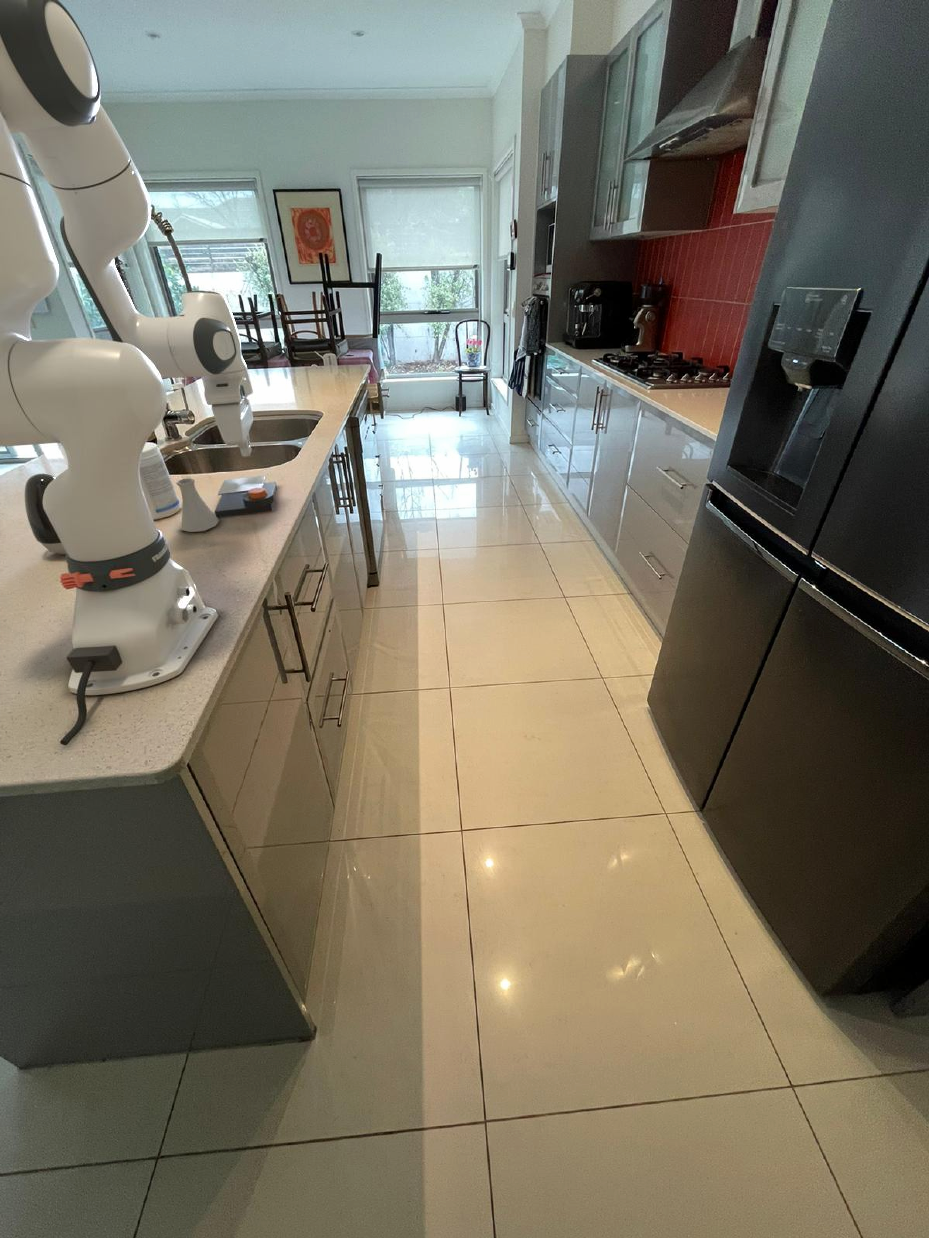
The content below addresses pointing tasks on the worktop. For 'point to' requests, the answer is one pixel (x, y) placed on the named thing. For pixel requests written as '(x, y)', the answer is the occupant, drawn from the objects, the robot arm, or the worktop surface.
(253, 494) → the button
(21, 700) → the worktop surface
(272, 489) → the scale
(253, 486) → the weighing plate
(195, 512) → the flask
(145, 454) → the supplement tub
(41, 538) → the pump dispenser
